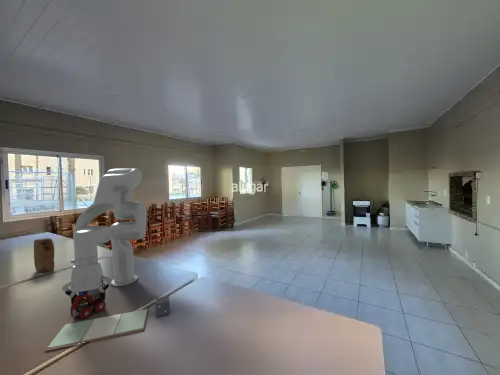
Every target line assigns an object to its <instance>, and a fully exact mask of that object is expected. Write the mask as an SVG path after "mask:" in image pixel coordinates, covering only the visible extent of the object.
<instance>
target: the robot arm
mask: <svg viewBox="0 0 500 375" xmlns="http://www.w3.org/2000/svg"><path fill="white" fill-rule="evenodd" d="M142 177H143V174H142V171H141V170H140V169H138V168H136V167H131V168H129V167H128V168H112V169H109V170H107V171H106V173H105V174H104V175H102V176H101V177H100V178H99V182H98V184H97V189H96V192H95V196H94V200H93V203H92V204H90V205H89V206H88V207H87V208H86V209H85V210H84V211H83V212H81V214H80V215H79V217H78V218H77V219H76V223H75V226H74V229H73V234H72V239H73V251H74V254H73V255H74V258H73V259H71V260H70V264H74V265H73V266H72V267H71V273H70V275H71V276H70V281H69V282H68V283H65V285H63V286H62V287H61V290H62V291H63V292H64V294H66V295H67V296H68V297H69V298H70V303H71V304H70V305H71V306H72V303H73V301H74V299H75V297H76V296H78V294H77V293H79V292H84V291H91V290H96V289H98V290H99V291H100V303H102V302H103V301H104V299H105V300H106V290H107V289H109V287H110V285H111V286H112V287H123V286H124V287H125V286H128V285H131V284H134V283H135V282H136V281H137V280H138V275H136V274H135V266H134V264H135V262H134V248H133V244H132V243H131V242H130V240H131V241H133V240H136V241H137V240H141V239H143V238H145V236H146V234H147V216H148V215H147V214H148V213H147V206H146V204H145V203H144V202H143V201H142V200H141V201H140V200H135V201H134V200H133V191H132V190H133V189H134V188H136V187H137V186H138V185H139V184H140V183H141V181H142V179H143V178H142ZM111 210H113V216H114V218H115V219H116V220H134V221H118V222H115V223H112V224H111V225H110V226H108V225H107V226H106V225H97V226H96V225H95V226H94V225H93V226H91V225H90V223H91V222H92V221H93V220H94V219H95V218H97V217H98V216H100V215H102V214H104V213H107V212H108V211H111ZM108 242H111V243H110V244H111V250H112V251H111V252H112V267H113V269H112V270H113V272H112V273H113V278H111V277H107V276H104V273H103V269H102V264H101V262H100V261H99V255H98V254H99V253H98V246H99V245H101V244H106V243H108ZM104 282H106V283H105V286H104V285H103V283H104ZM69 287H70V288H69Z"/></svg>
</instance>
